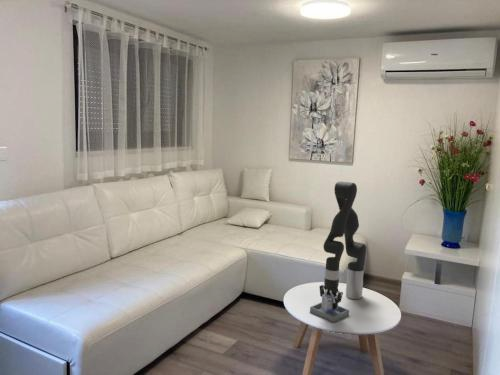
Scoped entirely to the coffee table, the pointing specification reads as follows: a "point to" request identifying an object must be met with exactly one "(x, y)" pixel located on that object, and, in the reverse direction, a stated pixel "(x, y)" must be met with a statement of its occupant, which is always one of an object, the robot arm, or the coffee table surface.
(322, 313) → the tray
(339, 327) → the coffee table surface
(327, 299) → the medicine box
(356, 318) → the coffee table surface
